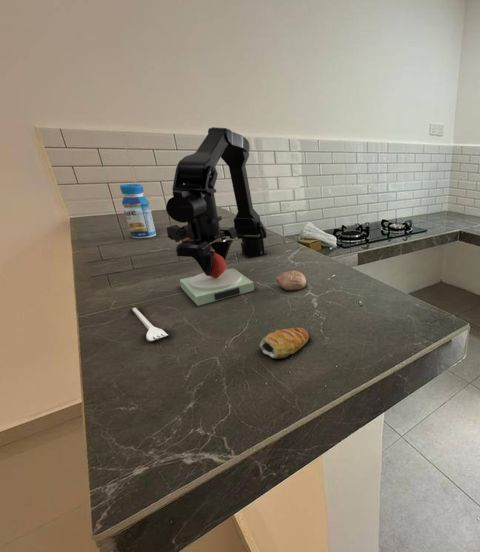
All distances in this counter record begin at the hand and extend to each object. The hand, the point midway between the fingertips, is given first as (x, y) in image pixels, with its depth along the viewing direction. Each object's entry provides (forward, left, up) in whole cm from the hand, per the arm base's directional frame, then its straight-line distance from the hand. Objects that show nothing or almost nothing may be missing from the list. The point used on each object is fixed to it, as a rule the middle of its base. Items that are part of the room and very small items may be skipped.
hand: (214, 271), depth 87 cm
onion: (0, 0, -2) cm, 2 cm away
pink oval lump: (-16, +11, -6) cm, 20 cm away
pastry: (0, +37, -6) cm, 38 cm away
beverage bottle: (+4, -70, -6) cm, 70 cm away
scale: (0, 0, -5) cm, 5 cm away
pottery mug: (-6, -39, -6) cm, 40 cm away
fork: (+18, +10, -6) cm, 21 cm away
